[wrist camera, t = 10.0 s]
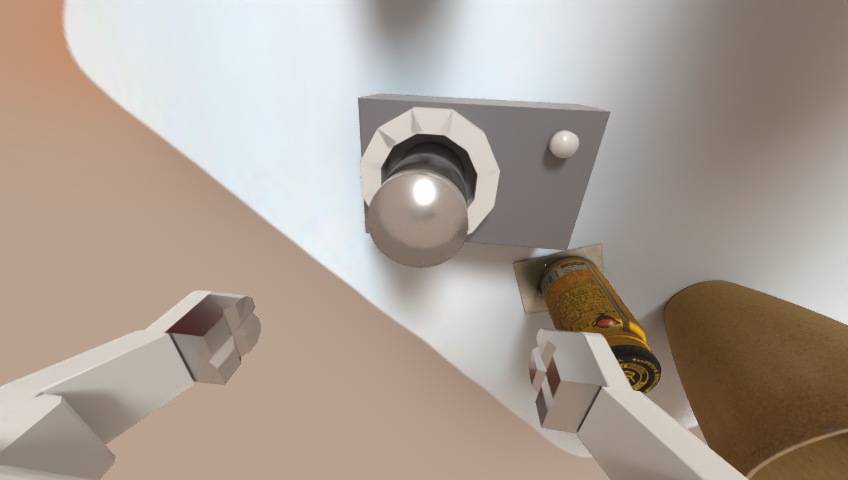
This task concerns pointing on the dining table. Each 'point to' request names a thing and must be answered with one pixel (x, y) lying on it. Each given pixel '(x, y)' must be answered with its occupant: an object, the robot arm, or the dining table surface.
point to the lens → (421, 207)
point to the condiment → (588, 307)
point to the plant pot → (763, 380)
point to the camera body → (493, 159)
